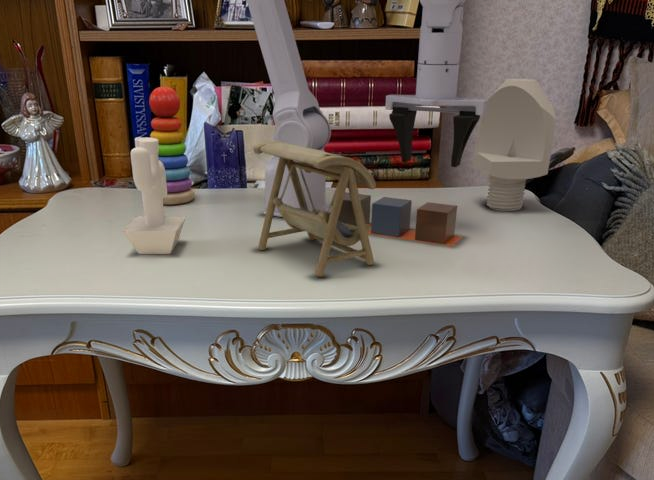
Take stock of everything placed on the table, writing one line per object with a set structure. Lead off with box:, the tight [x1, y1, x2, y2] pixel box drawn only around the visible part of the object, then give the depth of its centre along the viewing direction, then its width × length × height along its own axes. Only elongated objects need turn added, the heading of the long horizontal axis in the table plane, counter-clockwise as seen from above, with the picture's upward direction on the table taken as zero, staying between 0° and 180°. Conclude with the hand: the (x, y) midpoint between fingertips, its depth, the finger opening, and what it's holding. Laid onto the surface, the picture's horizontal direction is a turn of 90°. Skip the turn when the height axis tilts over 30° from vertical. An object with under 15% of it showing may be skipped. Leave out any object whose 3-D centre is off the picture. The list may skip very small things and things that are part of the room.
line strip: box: [367, 223, 463, 247], centre depth 100 cm, size 21×5×1 cm, turn 61°
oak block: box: [331, 191, 372, 226], centre depth 102 cm, size 4×4×4 cm
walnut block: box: [415, 201, 458, 244], centre depth 96 cm, size 4×4×4 cm
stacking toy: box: [148, 86, 195, 206], centre depth 114 cm, size 8×8×19 cm
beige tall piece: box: [473, 78, 557, 212], centre depth 109 cm, size 9×9×20 cm
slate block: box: [370, 196, 413, 237], centre depth 99 cm, size 4×4×4 cm
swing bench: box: [252, 140, 377, 278], centre depth 86 cm, size 15×10×15 cm, turn 34°
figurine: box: [122, 136, 187, 255], centre depth 90 cm, size 7×9×15 cm
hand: (430, 163), depth 99 cm, fingers open, 7 cm apart
